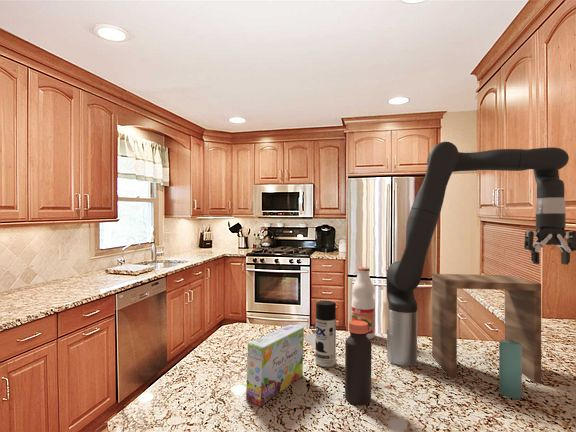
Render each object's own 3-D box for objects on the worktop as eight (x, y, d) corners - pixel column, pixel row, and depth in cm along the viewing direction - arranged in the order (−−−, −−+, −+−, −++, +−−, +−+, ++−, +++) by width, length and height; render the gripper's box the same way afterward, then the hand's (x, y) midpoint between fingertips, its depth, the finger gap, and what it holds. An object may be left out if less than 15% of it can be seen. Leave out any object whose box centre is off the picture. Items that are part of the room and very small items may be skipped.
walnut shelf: (449, 378, 104) (450, 281, 104) (432, 357, 120) (432, 273, 120) (541, 382, 102) (541, 283, 102) (510, 360, 118) (510, 275, 118)
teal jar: (505, 398, 92) (505, 345, 92) (495, 389, 97) (495, 339, 98) (526, 399, 92) (526, 346, 92) (514, 390, 97) (514, 339, 97)
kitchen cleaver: (295, 327, 151) (318, 325, 152) (296, 329, 151) (318, 327, 152) (308, 348, 127) (335, 345, 128) (309, 351, 127) (335, 348, 128)
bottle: (354, 407, 87) (355, 328, 87) (340, 395, 93) (340, 320, 93) (376, 402, 90) (377, 325, 90) (361, 390, 96) (361, 318, 96)
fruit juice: (379, 336, 141) (379, 267, 142) (366, 341, 135) (366, 270, 135) (360, 331, 148) (360, 265, 149) (346, 335, 142) (347, 267, 142)
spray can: (311, 363, 114) (311, 302, 114) (323, 357, 119) (324, 299, 119) (327, 369, 109) (328, 306, 109) (339, 363, 114) (340, 302, 114)
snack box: (262, 407, 87) (263, 347, 87) (245, 401, 90) (245, 342, 90) (304, 376, 105) (304, 326, 105) (288, 371, 108) (288, 323, 108)
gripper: (565, 213, 112) (565, 263, 112) (519, 212, 113) (519, 262, 113) (583, 212, 104) (583, 266, 104) (533, 212, 106) (533, 265, 105)
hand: (550, 264), depth 109 cm, fingers open, 8 cm apart
